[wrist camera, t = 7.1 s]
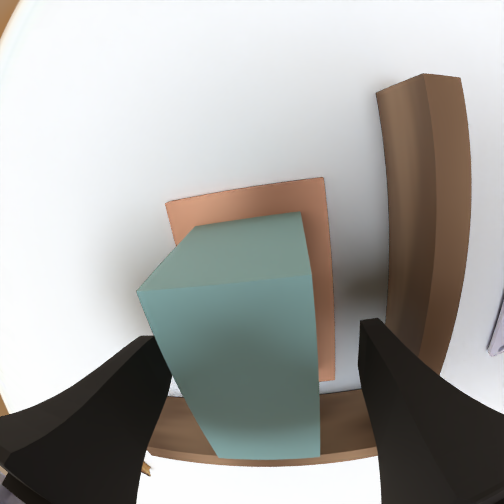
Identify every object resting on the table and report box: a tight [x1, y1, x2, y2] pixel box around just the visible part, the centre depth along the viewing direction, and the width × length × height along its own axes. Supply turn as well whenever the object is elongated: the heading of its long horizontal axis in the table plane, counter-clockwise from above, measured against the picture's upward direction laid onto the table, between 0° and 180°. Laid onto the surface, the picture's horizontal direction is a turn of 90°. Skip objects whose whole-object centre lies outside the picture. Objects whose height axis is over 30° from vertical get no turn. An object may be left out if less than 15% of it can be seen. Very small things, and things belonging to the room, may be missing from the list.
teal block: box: [136, 211, 320, 460], centre depth 10 cm, size 8×4×5 cm, turn 10°
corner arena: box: [147, 73, 471, 467], centre depth 10 cm, size 14×16×4 cm
